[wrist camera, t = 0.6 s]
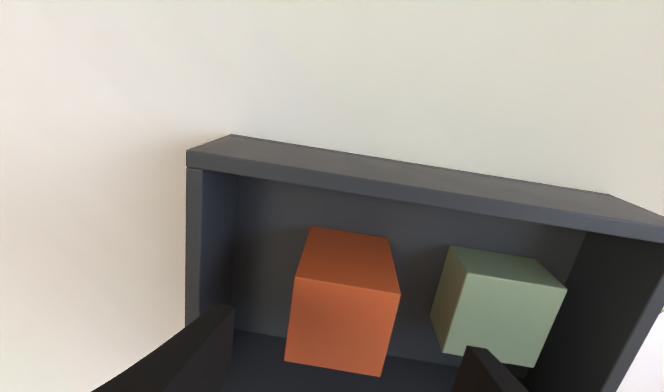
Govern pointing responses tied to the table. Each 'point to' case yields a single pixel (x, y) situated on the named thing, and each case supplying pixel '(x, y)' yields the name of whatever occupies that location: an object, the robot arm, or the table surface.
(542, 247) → the tub
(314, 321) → the terracotta block
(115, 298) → the table surface
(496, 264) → the sage block
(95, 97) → the table surface
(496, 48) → the table surface
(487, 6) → the table surface
